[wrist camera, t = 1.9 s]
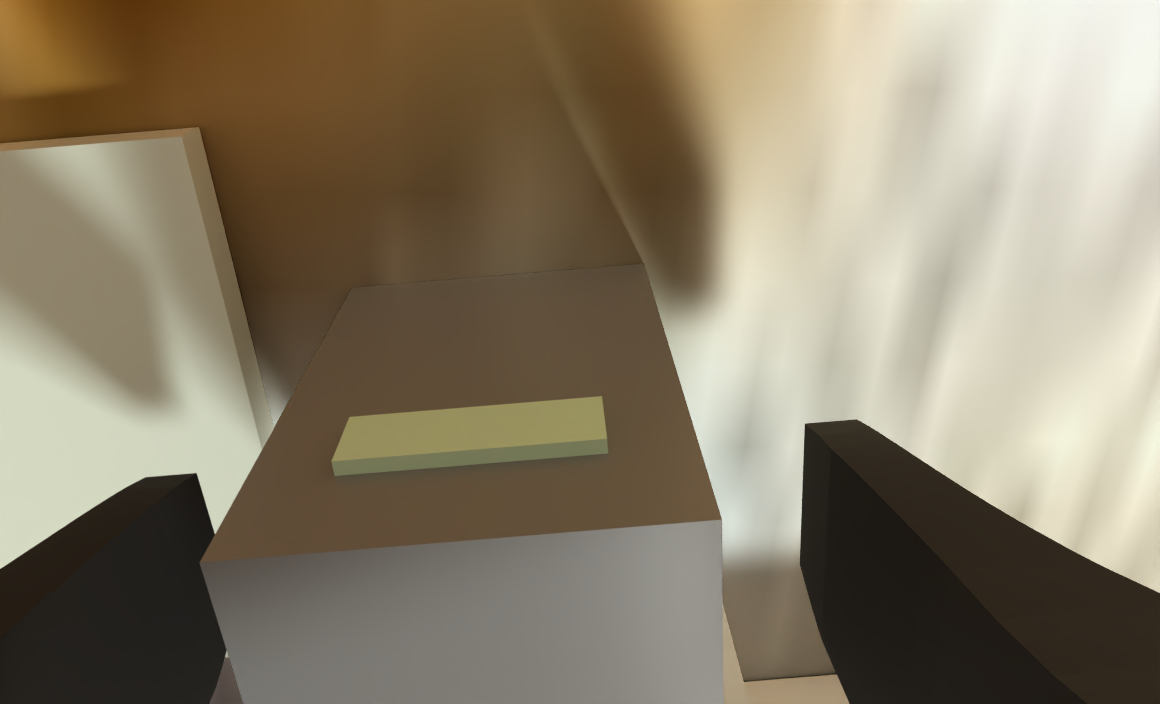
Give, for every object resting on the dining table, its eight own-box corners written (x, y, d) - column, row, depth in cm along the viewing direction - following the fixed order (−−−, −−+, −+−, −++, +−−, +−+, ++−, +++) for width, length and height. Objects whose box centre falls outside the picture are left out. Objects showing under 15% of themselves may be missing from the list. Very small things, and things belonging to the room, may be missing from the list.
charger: (663, 672, 15) (727, 1073, 10) (429, 691, 15) (366, 1102, 10) (643, 252, 12) (721, 502, 7) (350, 276, 12) (194, 546, 7)
